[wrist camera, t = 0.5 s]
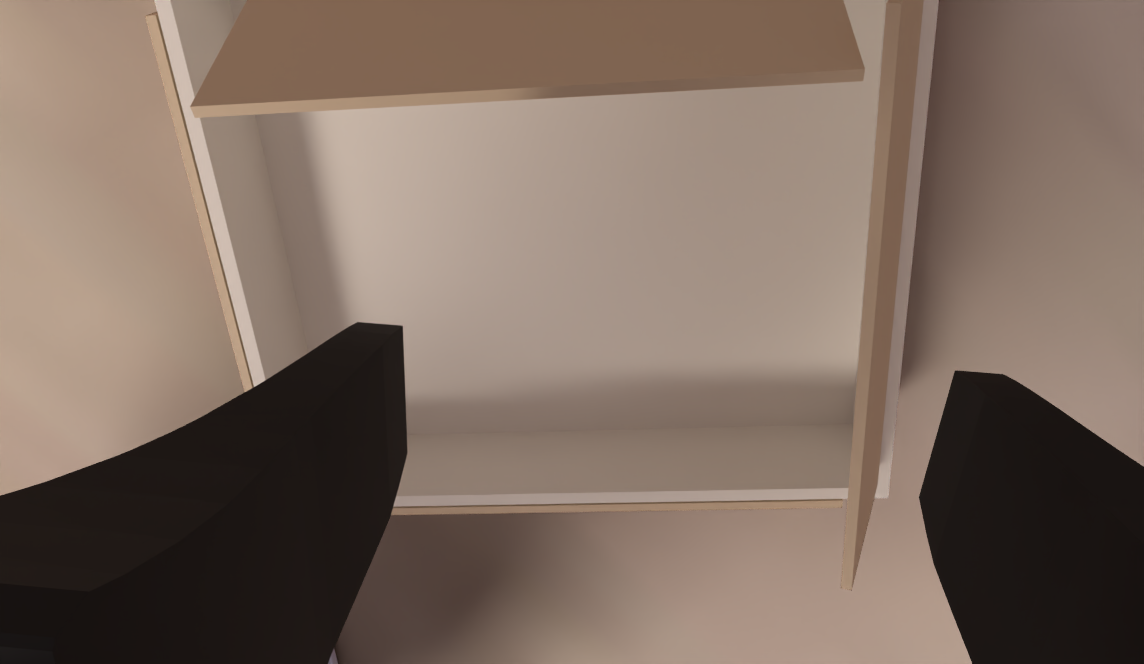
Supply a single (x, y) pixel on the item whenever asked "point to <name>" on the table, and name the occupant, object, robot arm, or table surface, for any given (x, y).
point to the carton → (569, 275)
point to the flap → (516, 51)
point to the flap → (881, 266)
